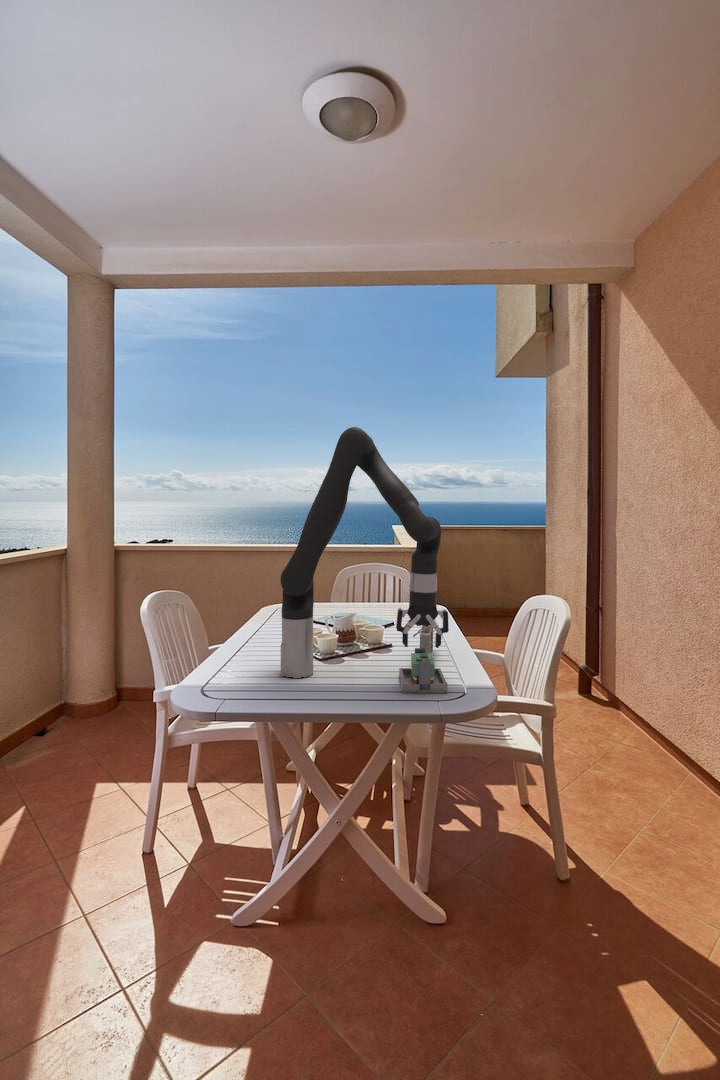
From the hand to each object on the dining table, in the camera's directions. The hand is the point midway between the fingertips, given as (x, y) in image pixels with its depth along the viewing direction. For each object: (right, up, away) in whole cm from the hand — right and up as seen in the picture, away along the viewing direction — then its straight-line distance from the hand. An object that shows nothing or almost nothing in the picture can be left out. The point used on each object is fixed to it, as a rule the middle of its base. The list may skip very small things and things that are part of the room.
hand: (421, 646), depth 139 cm
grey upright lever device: (+5, -9, +27) cm, 28 cm away
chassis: (0, -11, +1) cm, 11 cm away
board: (0, -7, +1) cm, 7 cm away
